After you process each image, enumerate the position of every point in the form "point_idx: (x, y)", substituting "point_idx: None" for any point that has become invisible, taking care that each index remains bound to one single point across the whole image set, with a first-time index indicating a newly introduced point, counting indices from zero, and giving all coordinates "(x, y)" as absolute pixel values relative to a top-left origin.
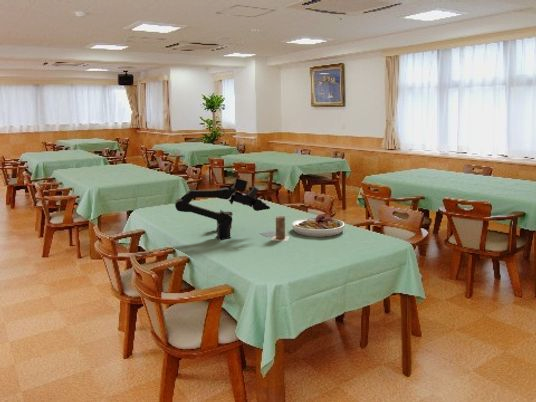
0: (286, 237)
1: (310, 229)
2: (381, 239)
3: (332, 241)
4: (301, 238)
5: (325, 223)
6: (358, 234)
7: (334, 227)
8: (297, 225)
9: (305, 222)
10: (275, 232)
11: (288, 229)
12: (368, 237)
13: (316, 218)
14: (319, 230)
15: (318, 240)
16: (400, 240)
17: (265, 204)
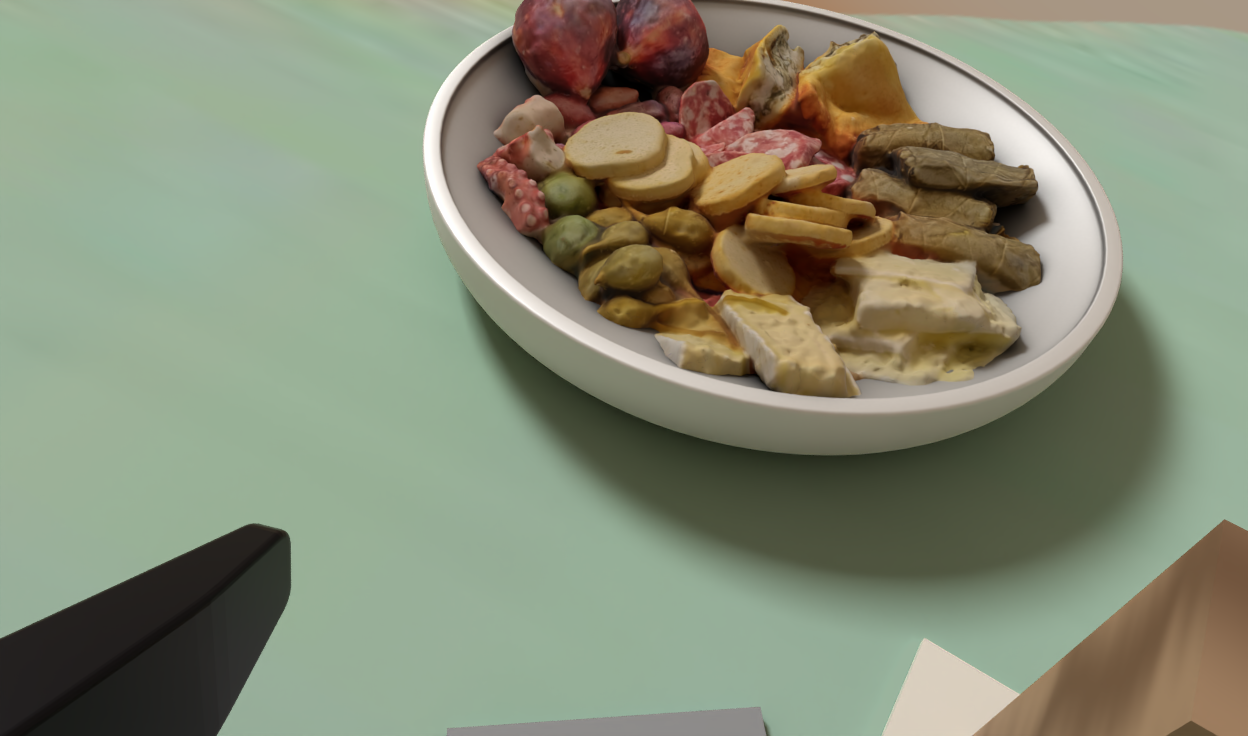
0: (982, 721)
1: (1083, 344)
2: (1182, 73)
3: (1237, 332)
4: (1048, 535)
5: (715, 92)
6: None
7: (893, 115)
8: (826, 372)
9: (556, 190)
10: (565, 728)
11: (462, 431)
12: (1108, 92)
13: (557, 62)
14: (1118, 285)
15: (1182, 418)
16: (1219, 29)
17: (266, 586)
